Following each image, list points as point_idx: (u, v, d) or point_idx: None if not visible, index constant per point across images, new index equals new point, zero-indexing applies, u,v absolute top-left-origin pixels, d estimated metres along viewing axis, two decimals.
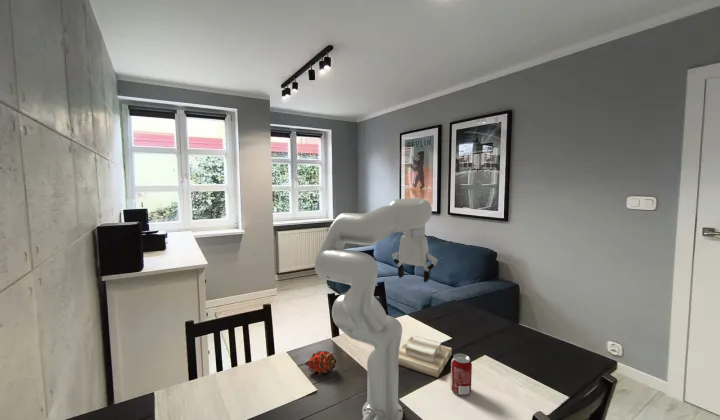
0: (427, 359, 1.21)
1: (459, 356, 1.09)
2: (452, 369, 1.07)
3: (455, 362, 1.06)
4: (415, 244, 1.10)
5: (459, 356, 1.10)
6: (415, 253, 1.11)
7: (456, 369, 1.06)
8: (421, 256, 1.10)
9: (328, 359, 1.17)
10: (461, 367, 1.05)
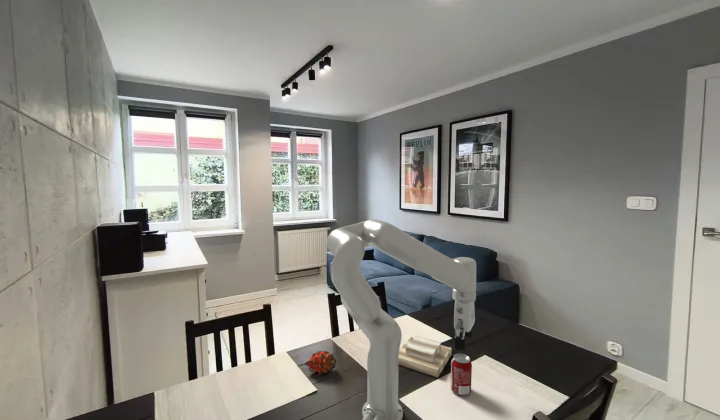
0: (427, 359, 1.21)
1: (459, 356, 1.09)
2: (452, 369, 1.07)
3: (455, 362, 1.06)
4: (473, 304, 1.06)
5: (459, 356, 1.10)
6: (473, 313, 1.06)
7: (456, 369, 1.06)
8: (474, 313, 1.08)
9: (328, 359, 1.17)
10: (461, 367, 1.05)
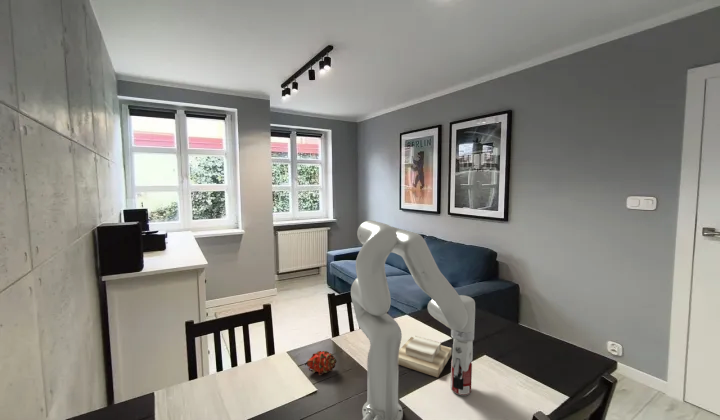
0: (427, 359, 1.21)
1: None
2: (452, 369, 1.07)
3: None
4: (471, 343, 1.07)
5: None
6: (471, 351, 1.07)
7: None
8: (472, 351, 1.09)
9: (328, 359, 1.17)
10: None
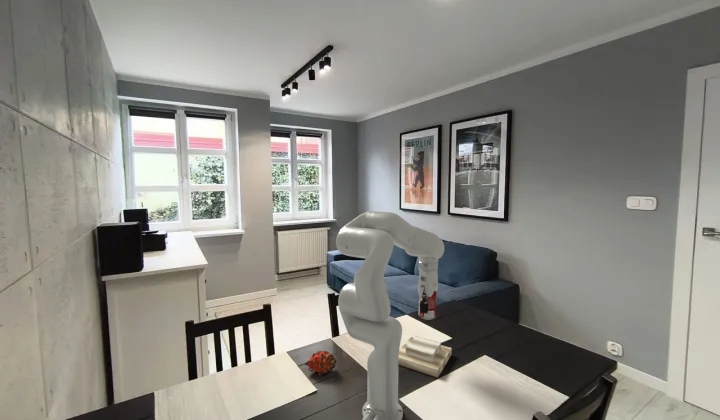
0: (427, 359, 1.21)
1: None
2: None
3: None
4: (436, 274, 1.23)
5: None
6: (435, 282, 1.24)
7: None
8: (437, 282, 1.26)
9: (328, 359, 1.17)
10: None
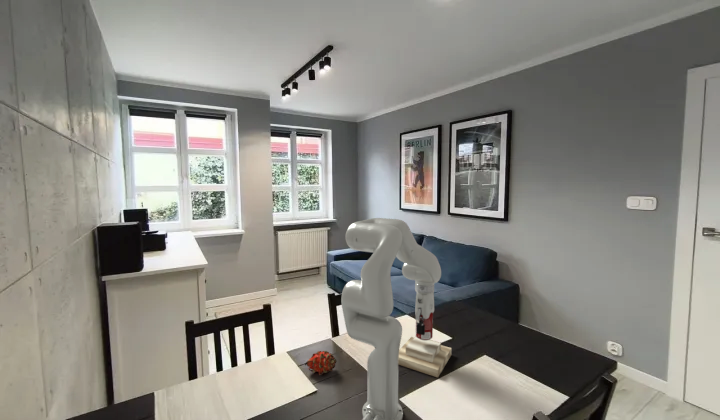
0: (427, 359, 1.21)
1: None
2: None
3: None
4: (432, 296, 1.26)
5: None
6: (432, 304, 1.26)
7: None
8: (433, 304, 1.28)
9: (328, 359, 1.17)
10: None
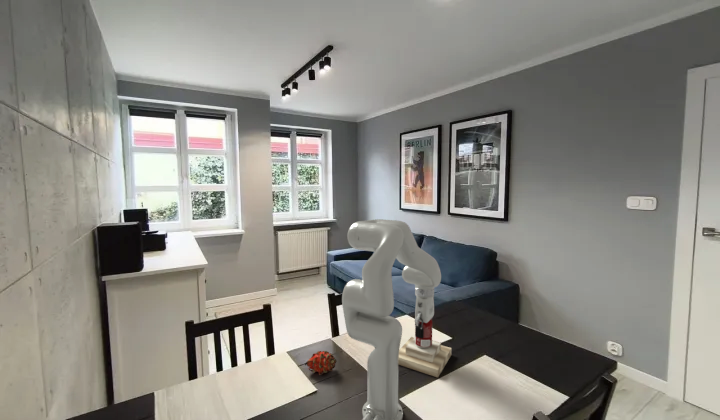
0: (427, 359, 1.21)
1: None
2: None
3: None
4: (432, 300, 1.26)
5: None
6: (432, 307, 1.26)
7: None
8: (433, 307, 1.28)
9: (328, 359, 1.17)
10: None
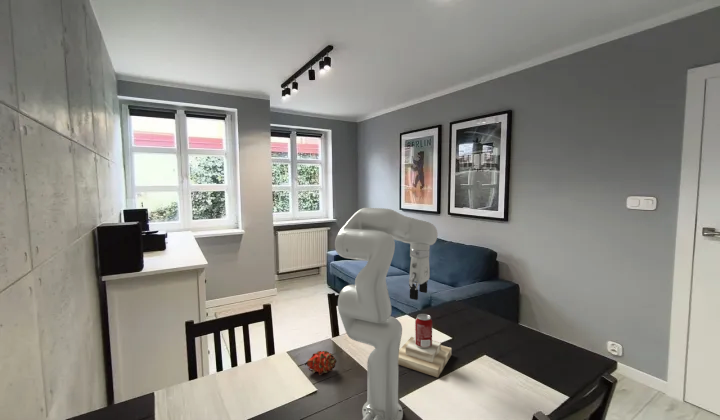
0: (427, 359, 1.21)
1: (422, 316, 1.28)
2: (416, 326, 1.26)
3: (418, 320, 1.25)
4: (427, 262, 1.24)
5: (422, 315, 1.28)
6: (427, 270, 1.24)
7: (419, 326, 1.24)
8: (429, 271, 1.26)
9: (328, 359, 1.17)
10: (423, 324, 1.23)
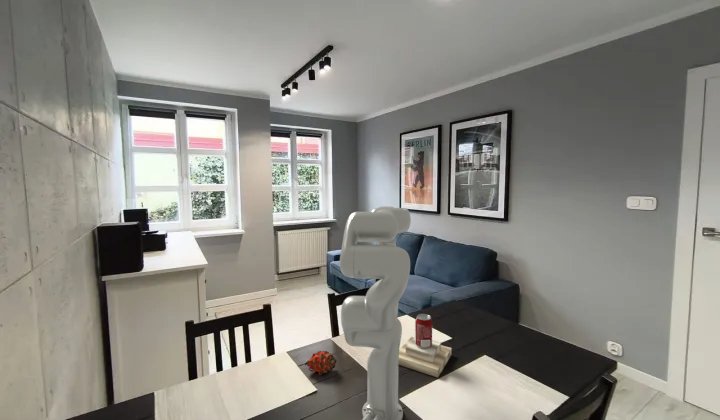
0: (427, 359, 1.21)
1: (422, 316, 1.28)
2: (416, 326, 1.26)
3: (418, 320, 1.25)
4: None
5: (422, 315, 1.28)
6: None
7: (419, 326, 1.24)
8: None
9: (328, 359, 1.17)
10: (423, 323, 1.24)
